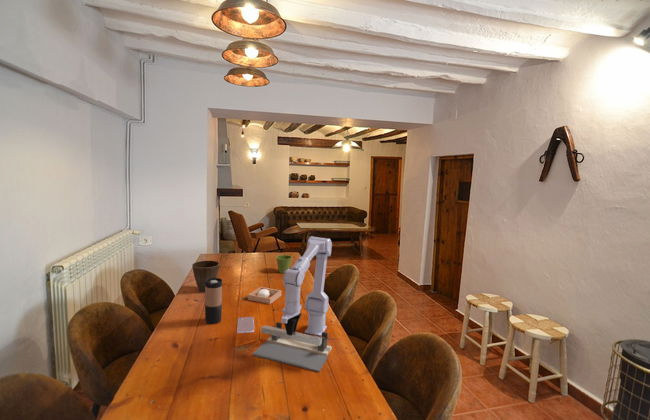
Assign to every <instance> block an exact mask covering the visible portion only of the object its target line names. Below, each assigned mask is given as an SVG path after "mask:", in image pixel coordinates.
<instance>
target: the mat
mask: <svg viewBox="0 0 650 420" xmlns="http://www.w3.org/2000/svg"><path fill="white" fill-rule="evenodd" d="M251 355H252V356H254V357H257V358H262V359H266V360H270V361H272V362H278V363H282V364H285V365H289V366H294V367H298V368H301V369H305V370H309V371H312V372H317V373H320V372H321V370H322V369H323V366H324V365H325V363H326V362H327V360H328V356H323V355H319V354H315V353H311V352H306V351H302V350H298V349H294V348H289V347H285V346H281V345H277V344H272V343H268V342H267V341H264V342H263V343H262V344H261V345H260V346H259V347H258V348H257V349H256V350H254V352H253V353H252V354H251Z"/></svg>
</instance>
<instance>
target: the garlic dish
mask: <svg viewBox="0 0 650 420" xmlns="http://www.w3.org/2000/svg"><path fill="white" fill-rule="evenodd" d="M262 289H267V290H269V294H270V295H272V296H270V297H262V296H258V295H257V294H258V292H259V291H260V290H262ZM282 293H283V292H282V290H280V289H275V288H269V287H264V286H260V287H258V288H256V289H254V290H253V291H252V292H250V293H248V294H247V301H251V302H258V303H261V304H262V303H263V304H268V305H271V304H273V302H275V301H276V300H277V299H279V298H280V297H282Z"/></svg>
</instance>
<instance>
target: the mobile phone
mask: <svg viewBox="0 0 650 420" xmlns="http://www.w3.org/2000/svg"><path fill="white" fill-rule="evenodd" d="M254 319H255V318H254V317H253V316H246V317H245V316H243V317H238V318H237V328H236V334H247V333H249V334H250V333H254V332H255V320H254Z"/></svg>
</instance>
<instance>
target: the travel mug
mask: <svg viewBox="0 0 650 420" xmlns="http://www.w3.org/2000/svg"><path fill="white" fill-rule="evenodd" d="M222 307H223V279H222V278H219V277H217V278H210V279H207V280H206V281H205V292H204V320H205V321H204V323H206V324H207V325H217V324H219V323H220V322H221V321H222V310H223V309H222Z"/></svg>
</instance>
